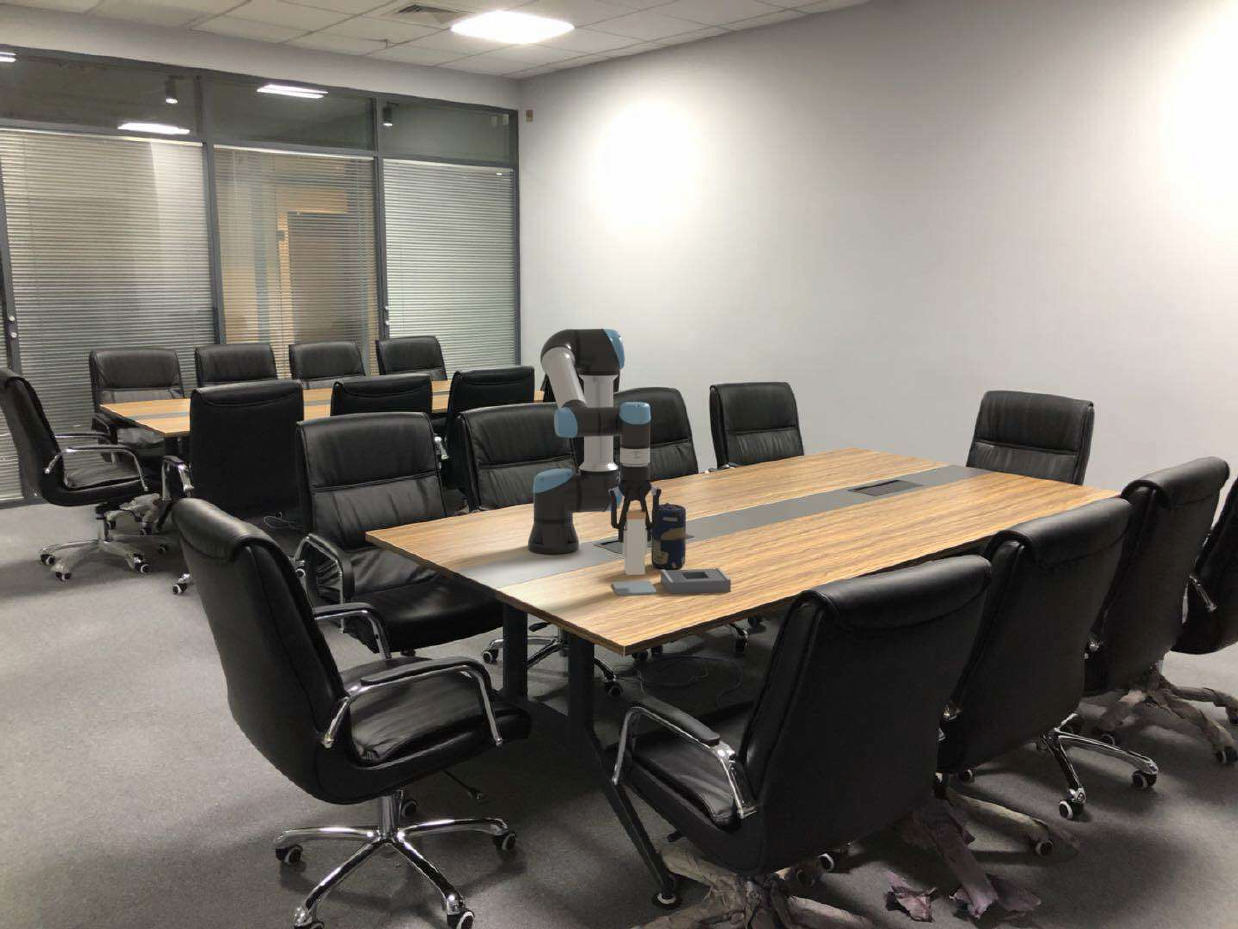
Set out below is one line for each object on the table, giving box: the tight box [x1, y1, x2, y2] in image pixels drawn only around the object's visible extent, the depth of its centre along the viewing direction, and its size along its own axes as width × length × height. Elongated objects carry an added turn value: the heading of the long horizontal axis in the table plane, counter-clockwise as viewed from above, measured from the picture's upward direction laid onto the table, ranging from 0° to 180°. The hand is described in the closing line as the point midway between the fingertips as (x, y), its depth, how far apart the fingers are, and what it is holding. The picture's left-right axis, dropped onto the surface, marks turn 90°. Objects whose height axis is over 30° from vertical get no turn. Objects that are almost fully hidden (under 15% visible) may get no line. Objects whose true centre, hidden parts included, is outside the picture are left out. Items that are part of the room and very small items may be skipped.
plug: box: [624, 508, 646, 576], centre depth 247 cm, size 5×5×16 cm
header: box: [660, 566, 732, 595], centre depth 251 cm, size 16×11×3 cm
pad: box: [611, 579, 658, 596], centre depth 249 cm, size 10×10×1 cm
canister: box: [650, 502, 687, 570], centre depth 269 cm, size 10×10×18 cm
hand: (634, 554), depth 247 cm, fingers closed on plug, 4 cm apart
